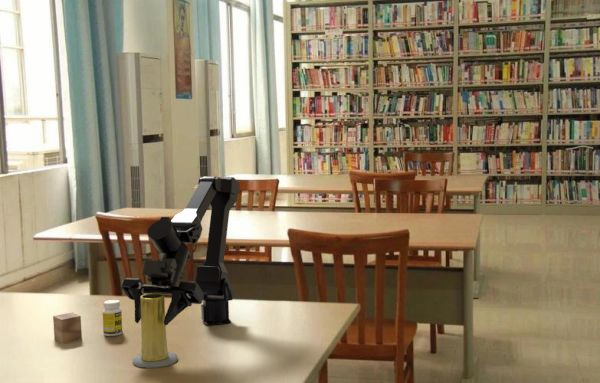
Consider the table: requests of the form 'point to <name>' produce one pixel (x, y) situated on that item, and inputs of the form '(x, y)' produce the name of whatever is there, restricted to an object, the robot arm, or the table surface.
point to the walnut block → (67, 327)
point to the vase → (153, 328)
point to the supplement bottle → (112, 318)
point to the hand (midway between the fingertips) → (150, 323)
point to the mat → (168, 361)
